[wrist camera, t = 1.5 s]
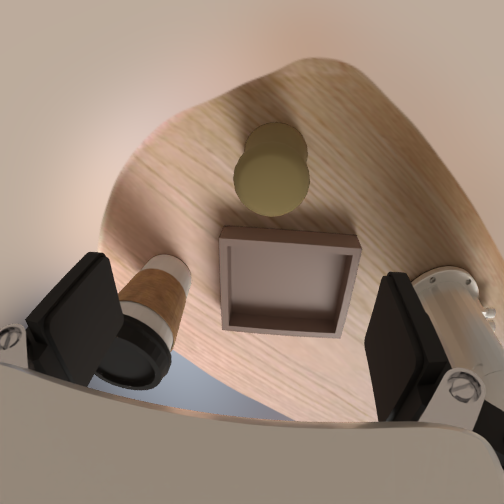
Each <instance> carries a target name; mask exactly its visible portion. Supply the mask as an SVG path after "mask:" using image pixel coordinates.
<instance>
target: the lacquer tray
mask: <svg viewBox="0 0 504 504" xmlns="http://www.w3.org/2000/svg"><path fill="white" fill-rule="evenodd" d="M361 251H362V248H361V245H360V243H359V240H358V238H357V235H346V234H334V233H322V232H309V231H296V230H282V229H268V228H253V227H238V226H224V228H223V230H222V233H221V235H220V237H219V258H220V290H221V317H222V330H227V331H237V332H248V333H259V334H271V335H285V336H300V337H318V338H341V335H342V331H343V327H344V324H345V320H346V316H347V312H348V308H349V304H350V300H351V296H352V292H353V288H354V283H355V279H356V275H357V270H358V266H359V261H360V256H361Z"/></svg>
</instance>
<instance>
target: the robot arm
mask: <svg viewBox="0 0 504 504" xmlns="http://www.w3.org/2000/svg"><path fill="white" fill-rule="evenodd" d="M495 314H496V310H495V308H483V306H482V305H481V303H480V302H479V289H478V286H477V283H476V282H475V280H474V279H473V277H472V276H471V275H470V274H469V273H468V272H467V271H465V270H464V269H462V268H458V267H453V266H446V267H439V268H436V269H433V270H430V271H428V272H426V273H424V274H422V275H421V276H419V277H418V278H416V279H415V280H414V281H412V282H411V281H410V280H409V278H408V276H407V274H406V273H401V272H389V273H388V275H387V276H383V277H382V280H381V283H380V287H379V291H378V295H377V298H376V302H375V305H374V309H373V312H372V316H371V319H370V323H369V326H368V329H367V332H366V336H365V342H364V345H365V351H366V356H367V361H368V366H369V371H370V376H371V381H372V386H373V392H374V397H375V403H376V409H377V415H378V421H379V422H300V421H281V420H266V419H254V418H244V417H236V416H227V415H219V414H211V413H204V412H198V411H191V410H185V409H180V408H173V407H168V406H163V405H158V404H153V403H148V402H144V401H139V400H135V399H130V398H126V397H122V396H117V395H113V394H110V393H106V392H102V391H99V390H95V389H91V388H88V387H87V386H88V384H89V383H90V380H91V379H92V377H93V375H94V374H95V372H96V370H97V368H98V366H99V365H100V363H101V361H102V359H103V358H104V356H105V354H106V352H107V351H108V349H109V347H110V346H111V344H112V342H113V340H114V339H115V337H116V335H117V334H118V332H119V330H120V329H121V327H122V325H123V322H124V316H123V312H122V308H121V305H120V301H119V297H118V293H117V290H116V286H115V281H114V277H113V273H112V269H111V265H110V261H109V259H108V258H107V257H106V256H105V254H104V253H98V252H88V253H87V254H86V255H85V256H84V257H83V258H82V259H81V260H80V261H79V262H78V263H77V264H76V265H75V266H74V267H73V268H72V269H71V270H70V271H69V272H68V273H67V274H66V275H65V276H64V277H63V278H62V279H61V280H60V282H59V283H58V284H57V285H56V286H55V287H54V288H53V289H52V290H51V291H50V292H49V293H48V294H47V295H46V297H45V298H44V299H43V300H42V301H41V302H40V303H39V304H38V306H37V307H36V308H35V309H34V310H33V311H32V312H31V314H30V315H29V316H28V317H27V318H26V319H25V320H26V322H27V324H28V328H27V329H26V330H25V328H24V327H23V326H22V325H20V324H9V325H6V326H4V327H2V328H1V329H0V504H504V348H503V347H502V345H501V343H500V341H499V340H498V338H497V336H496V335H495V333H494V331H495V322H494V321H493V320H488V321H487V320H486V318H494V317H495Z"/></svg>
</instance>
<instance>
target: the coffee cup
mask: <svg viewBox="0 0 504 504" xmlns="http://www.w3.org/2000/svg"><path fill="white" fill-rule="evenodd" d="M191 280H192V279H191V274H190V271H189V269H188V268H187V266H186V265H185V264H184V263H183V262H182V261H181V260H179V259H178V258H176V257H174V256H171V255H157V256H155V257H153V258H151V259H150V260H149V261H148V262H147V263H146V265H145V266H144V267H143V268H142V269H141V270H140V271H139V272H138V273H137V274H136V275H135V276H134V277H133V278H132V279H131V280H130V282H129V283H128V284H127V285H126V286H125V287H124V288H123V289H122V290H121V291H120V292H119V293H118V297H119V301H120V305H121V308H122V312H123V316H124V322H123V325H122V327H121V329H120V330H119V332H118V334H117V335H116V337H115V339H114V340H113V342H112V344H111V346H110V347H109V349H108V351H107V352H106V354H105V356H104V358H103V359H102V361H101V363H100V365H99V366H98V368H97V370H96V372H95V375H96V376H98V377H99V378H100V379H102V380H104V381H106V382H108V383H110V384H112V385H115V386H118V387H122V388H126V389H131V390H148V389H152V388H154V387H156V386H157V385H158V384H159V383H160V382H161V380H162V378H163V377H164V376H165V375H166V374H167V373H168V370H169V368H170V365H171V354H170V352H171V351H172V349H173V347H174V344H175V340H176V336H177V333H178V329H179V325H180V321H181V318H182V314H183V310H184V307H185V303H186V298H187V295H188V292H189V289H190V286H191Z"/></svg>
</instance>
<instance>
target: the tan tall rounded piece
mask: <svg viewBox="0 0 504 504" xmlns="http://www.w3.org/2000/svg"><path fill="white" fill-rule="evenodd" d="M307 156H308V152H307V145H306V142H305V140H304V138H303V136H302V135H301V134H300V133H299V132H298V131H297V130H296V129H295V128H293V127H291V126H289V125H288V124H284V123H278V122H274V123H267V124H264V125H262V126H260V127H258V128H257V129H256V130H255V131H254V132H252V133H251V134H250V136H249V138H248V140H247V142H246V146H245V153H244V154H243V155H242V156H241V157H240V159H239V161H238V163H237V165H236V167H235V170H234V177H233V180H234V186H235V191H236V193H237V195H238V197H239V199H240V201H241V202H242V203H243V204H244V205H245V206H246V207H247V208H248V209H249V210H251V211H253V212H255V213H257V214H259V215H263V216H269V217H273V216H282V215H284V214H287V213H289V212H292V211H293V210H294V209H295V208H296V207H298V206H299V205H300V204H301V203H302V201H303V199H304V198H305V196H306V195H307V192H308V188H309V184H310V178H309V170H308V167H307V165H306V161H307Z"/></svg>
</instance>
